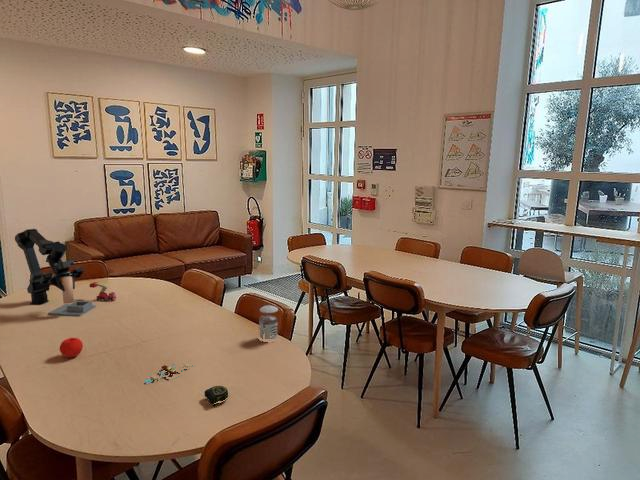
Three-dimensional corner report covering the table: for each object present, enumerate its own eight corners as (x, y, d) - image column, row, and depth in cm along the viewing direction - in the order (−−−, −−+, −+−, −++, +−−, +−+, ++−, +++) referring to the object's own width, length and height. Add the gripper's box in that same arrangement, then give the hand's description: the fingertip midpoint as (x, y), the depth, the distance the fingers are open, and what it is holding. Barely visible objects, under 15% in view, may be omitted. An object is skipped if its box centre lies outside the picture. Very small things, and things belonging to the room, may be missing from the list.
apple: (59, 362, 164) (58, 344, 163) (60, 354, 171) (59, 336, 170) (83, 358, 168) (82, 340, 167) (83, 350, 175) (82, 333, 174)
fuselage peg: (62, 303, 209) (60, 278, 207) (64, 301, 213) (62, 276, 211) (72, 303, 211) (71, 278, 208) (74, 300, 215) (73, 276, 213)
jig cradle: (48, 314, 213) (47, 307, 212) (65, 305, 227) (65, 298, 226) (80, 316, 212) (79, 308, 212) (95, 307, 226) (95, 299, 226)
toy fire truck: (113, 301, 236) (112, 284, 234) (90, 300, 237) (89, 283, 235) (117, 299, 239) (116, 283, 237) (93, 298, 240) (92, 281, 239)
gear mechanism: (137, 379, 154) (151, 389, 148) (137, 365, 153) (150, 374, 147) (187, 361, 169) (200, 369, 163) (186, 348, 168) (200, 356, 162)
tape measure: (203, 398, 143) (203, 388, 142) (223, 393, 147) (223, 382, 146) (211, 408, 137) (210, 397, 137) (231, 402, 141) (231, 391, 140)
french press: (283, 337, 195) (284, 283, 191) (270, 346, 185) (270, 290, 181) (265, 332, 199) (265, 280, 195) (250, 341, 189) (251, 286, 185)
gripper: (40, 257, 202) (53, 284, 198) (80, 251, 218) (93, 276, 214) (34, 271, 208) (46, 297, 204) (73, 264, 223) (86, 289, 219)
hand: (69, 289), depth 210 cm, fingers closed on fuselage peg, 4 cm apart
